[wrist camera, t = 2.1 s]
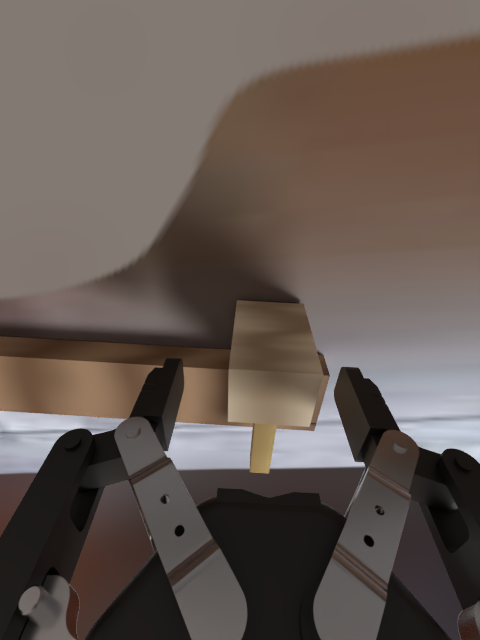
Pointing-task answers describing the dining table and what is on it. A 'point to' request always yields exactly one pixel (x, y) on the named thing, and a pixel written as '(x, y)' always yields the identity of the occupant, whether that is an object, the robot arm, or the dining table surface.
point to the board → (115, 379)
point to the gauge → (271, 373)
